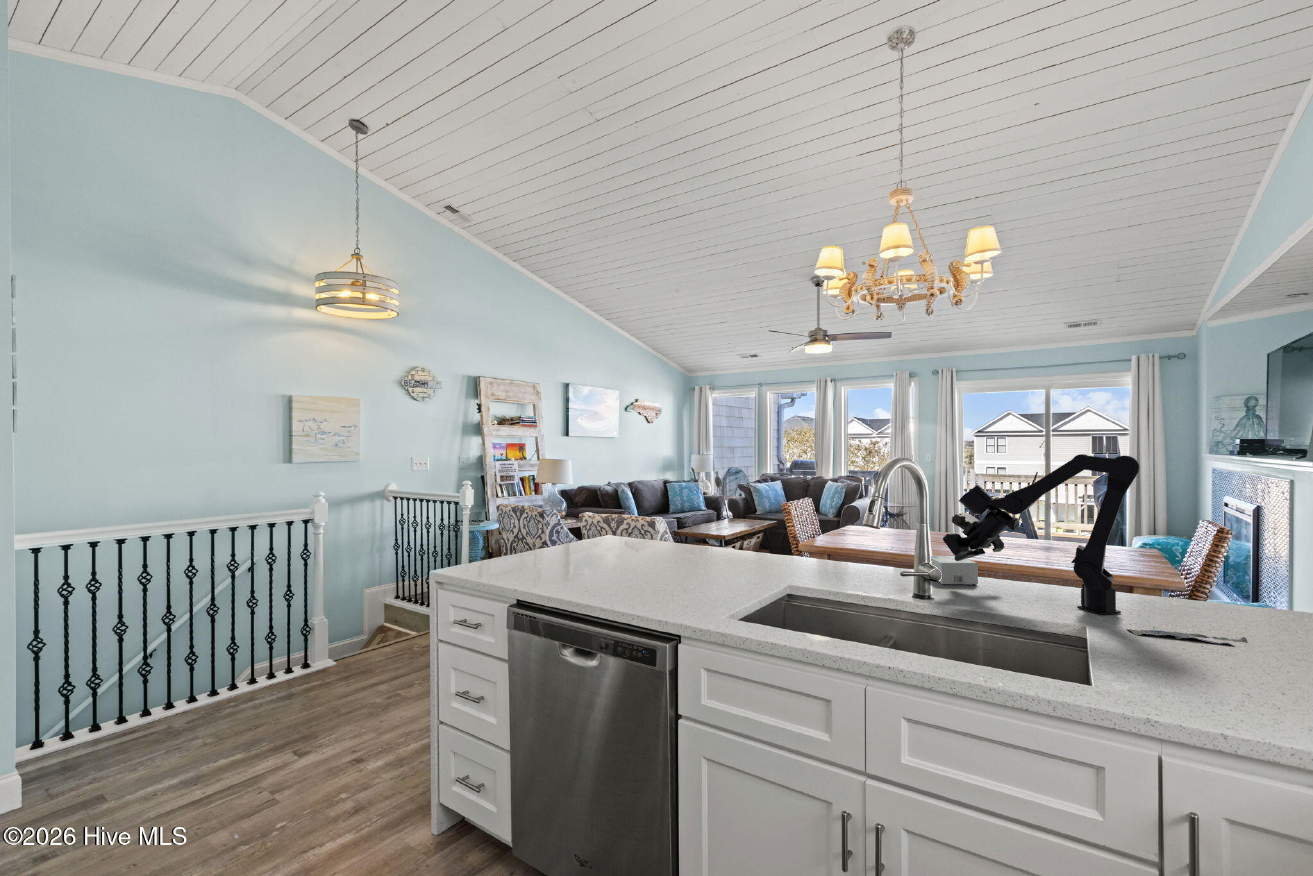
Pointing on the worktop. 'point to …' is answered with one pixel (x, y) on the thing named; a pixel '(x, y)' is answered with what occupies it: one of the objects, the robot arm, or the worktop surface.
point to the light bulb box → (956, 570)
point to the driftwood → (1186, 635)
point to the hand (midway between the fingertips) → (956, 559)
